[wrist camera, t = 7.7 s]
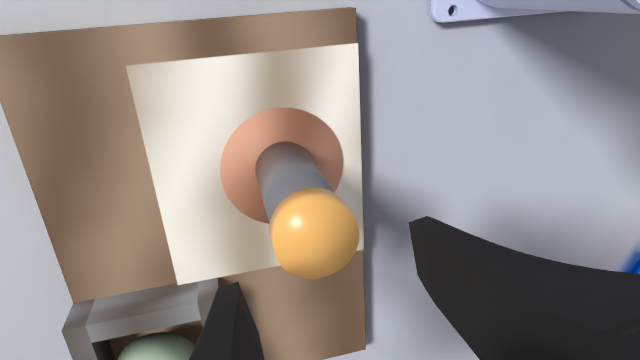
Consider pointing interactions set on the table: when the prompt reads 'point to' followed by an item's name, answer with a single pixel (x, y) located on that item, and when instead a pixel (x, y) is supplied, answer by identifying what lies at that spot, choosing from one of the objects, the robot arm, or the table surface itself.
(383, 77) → the table surface
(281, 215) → the grey and orange cylinder
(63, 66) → the drawing board
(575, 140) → the table surface
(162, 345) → the button
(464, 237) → the robot arm
